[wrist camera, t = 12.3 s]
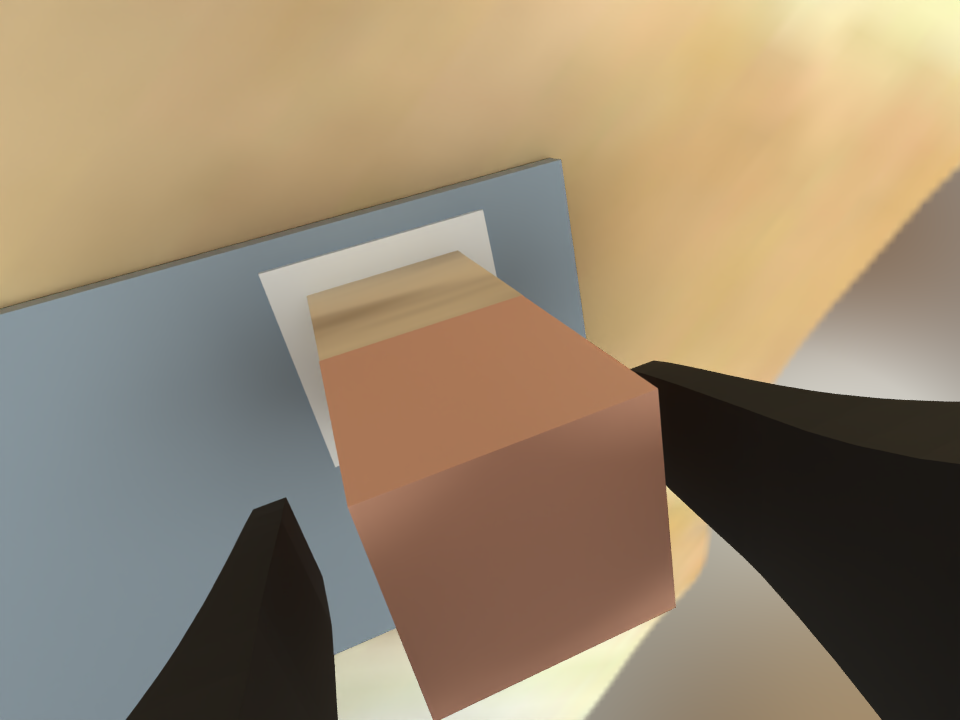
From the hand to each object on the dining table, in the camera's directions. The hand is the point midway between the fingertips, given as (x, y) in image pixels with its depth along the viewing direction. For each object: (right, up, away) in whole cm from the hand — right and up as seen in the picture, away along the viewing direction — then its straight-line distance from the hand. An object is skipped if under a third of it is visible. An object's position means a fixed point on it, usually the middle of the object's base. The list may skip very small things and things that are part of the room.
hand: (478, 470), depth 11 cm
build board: (-6, -2, +7) cm, 10 cm away
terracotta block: (-1, +1, +2) cm, 2 cm away
